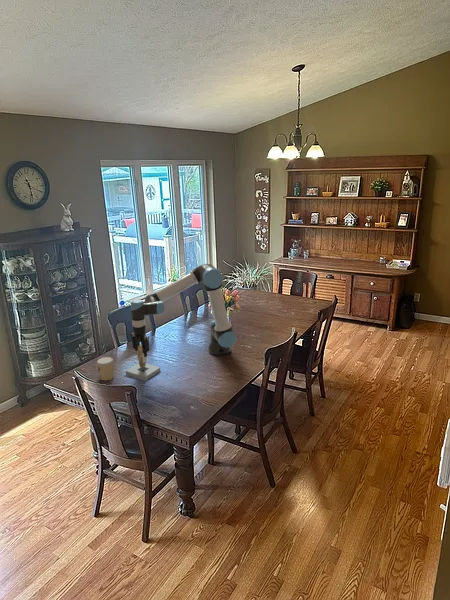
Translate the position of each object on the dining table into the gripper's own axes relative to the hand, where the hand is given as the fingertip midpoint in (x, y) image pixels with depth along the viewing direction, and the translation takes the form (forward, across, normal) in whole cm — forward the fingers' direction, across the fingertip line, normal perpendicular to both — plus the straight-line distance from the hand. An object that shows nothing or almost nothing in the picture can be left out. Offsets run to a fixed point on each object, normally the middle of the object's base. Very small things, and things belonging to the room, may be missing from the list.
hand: (142, 360), depth 251 cm
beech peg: (+4, 0, 0) cm, 4 cm away
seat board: (+9, 0, 0) cm, 9 cm away
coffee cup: (+9, +15, +16) cm, 24 cm away
